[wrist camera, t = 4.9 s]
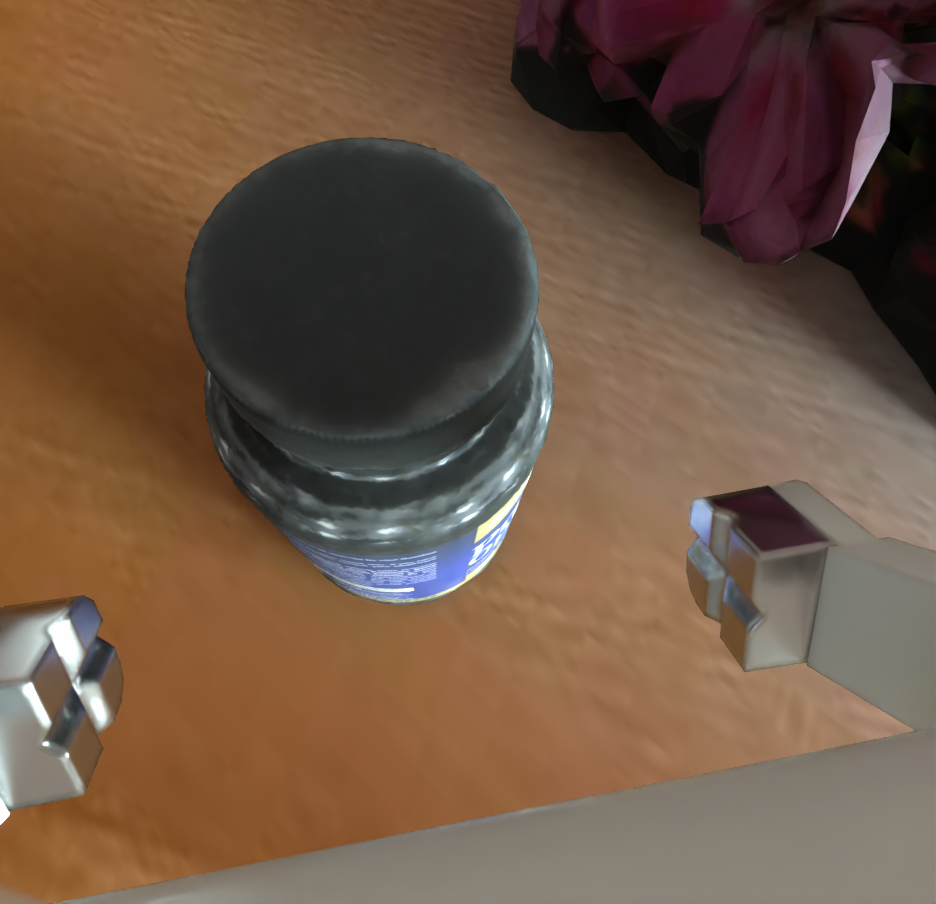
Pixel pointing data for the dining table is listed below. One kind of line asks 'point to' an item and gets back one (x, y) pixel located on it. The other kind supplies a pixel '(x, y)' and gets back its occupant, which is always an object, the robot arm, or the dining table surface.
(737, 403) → the dining table surface
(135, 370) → the dining table surface
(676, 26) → the flower arrangement
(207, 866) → the dining table surface
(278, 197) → the pill bottle
